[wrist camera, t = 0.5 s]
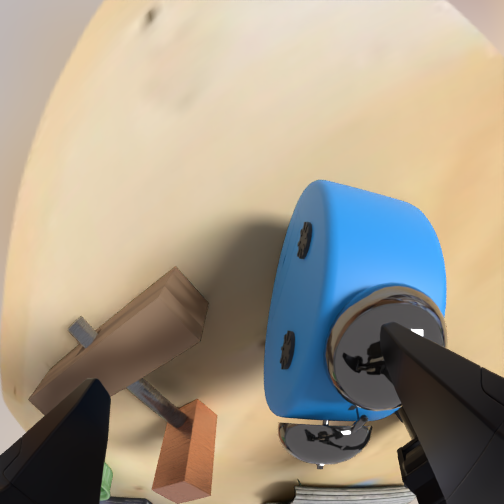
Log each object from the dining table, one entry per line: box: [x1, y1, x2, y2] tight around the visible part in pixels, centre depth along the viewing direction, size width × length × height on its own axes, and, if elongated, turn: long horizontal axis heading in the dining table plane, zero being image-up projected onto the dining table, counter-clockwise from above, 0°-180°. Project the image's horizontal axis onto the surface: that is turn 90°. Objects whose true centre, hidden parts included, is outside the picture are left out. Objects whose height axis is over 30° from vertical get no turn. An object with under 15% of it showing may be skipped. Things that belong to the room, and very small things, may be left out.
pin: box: [68, 316, 217, 504], centre depth 23 cm, size 16×4×10 cm, turn 37°
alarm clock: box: [264, 180, 448, 469], centre depth 17 cm, size 13×6×15 cm, turn 169°
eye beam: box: [29, 266, 209, 415], centre depth 24 cm, size 4×20×6 cm, turn 127°
